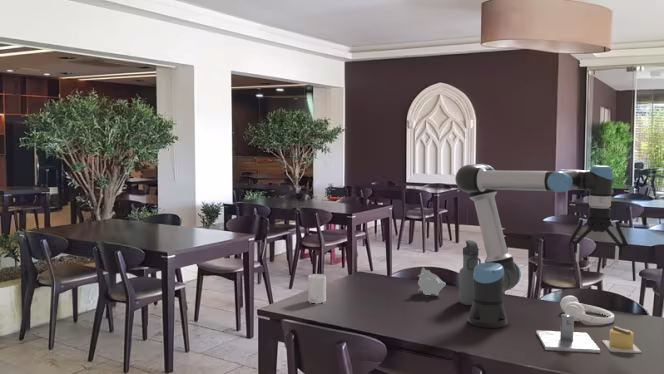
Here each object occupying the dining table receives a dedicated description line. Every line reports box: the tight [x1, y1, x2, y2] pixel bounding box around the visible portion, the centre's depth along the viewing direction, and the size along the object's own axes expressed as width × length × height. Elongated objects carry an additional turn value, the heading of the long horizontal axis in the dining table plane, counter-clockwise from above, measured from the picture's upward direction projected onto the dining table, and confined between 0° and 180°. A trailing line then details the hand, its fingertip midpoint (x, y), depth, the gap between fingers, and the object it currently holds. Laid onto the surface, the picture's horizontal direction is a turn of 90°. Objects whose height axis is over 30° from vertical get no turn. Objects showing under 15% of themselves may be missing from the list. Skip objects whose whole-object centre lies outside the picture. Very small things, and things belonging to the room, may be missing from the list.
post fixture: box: [535, 313, 601, 354], centre depth 214 cm, size 18×18×10 cm
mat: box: [601, 339, 642, 354], centre depth 210 cm, size 10×10×1 cm
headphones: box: [559, 295, 615, 325], centre depth 244 cm, size 20×8×20 cm
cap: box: [608, 325, 634, 349], centre depth 209 cm, size 8×8×6 cm
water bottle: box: [458, 239, 482, 307], centre depth 266 cm, size 10×10×28 cm
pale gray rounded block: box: [307, 273, 327, 303], centre depth 266 cm, size 8×12×12 cm
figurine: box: [417, 267, 446, 296], centre depth 281 cm, size 10×15×14 cm
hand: (596, 262), depth 223 cm, fingers open, 13 cm apart
